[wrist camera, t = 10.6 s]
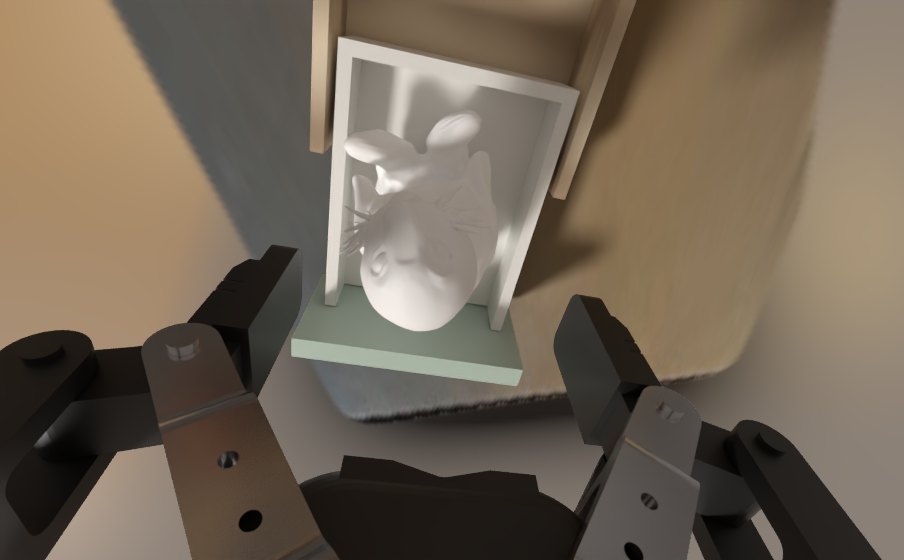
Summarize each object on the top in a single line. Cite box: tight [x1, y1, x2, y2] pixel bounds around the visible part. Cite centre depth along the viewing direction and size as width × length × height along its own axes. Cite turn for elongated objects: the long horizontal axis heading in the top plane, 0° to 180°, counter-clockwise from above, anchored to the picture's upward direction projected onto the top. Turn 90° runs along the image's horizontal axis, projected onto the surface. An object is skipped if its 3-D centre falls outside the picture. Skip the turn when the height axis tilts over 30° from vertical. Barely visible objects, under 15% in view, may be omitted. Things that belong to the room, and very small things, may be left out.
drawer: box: [292, 35, 580, 386], centre depth 21 cm, size 14×12×6 cm
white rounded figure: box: [336, 110, 498, 331], centre depth 17 cm, size 6×8×12 cm
